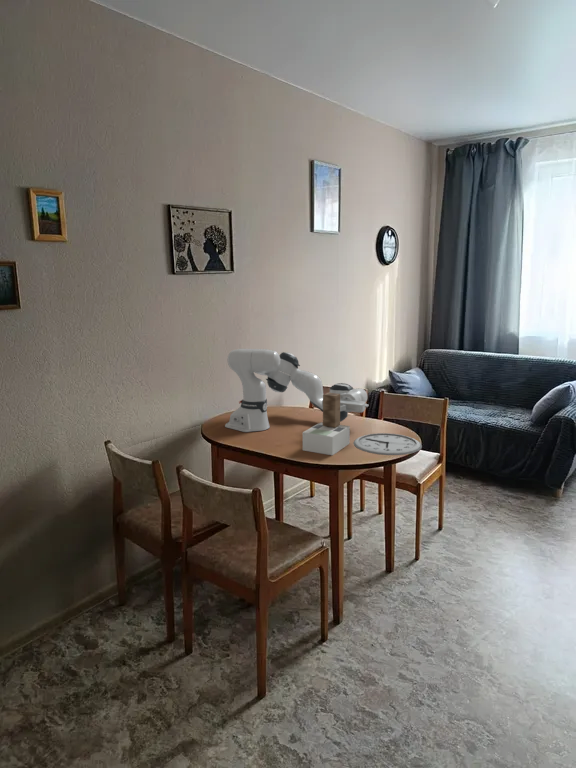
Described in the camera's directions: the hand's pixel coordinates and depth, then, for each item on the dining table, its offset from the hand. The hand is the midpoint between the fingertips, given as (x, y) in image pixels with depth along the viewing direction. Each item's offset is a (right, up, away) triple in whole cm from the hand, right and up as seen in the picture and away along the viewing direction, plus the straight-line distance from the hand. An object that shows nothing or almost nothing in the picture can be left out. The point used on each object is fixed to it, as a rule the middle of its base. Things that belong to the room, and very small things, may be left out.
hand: (336, 408), depth 238 cm
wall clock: (+22, -16, -2) cm, 27 cm away
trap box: (-5, -16, -5) cm, 18 cm away
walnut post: (-3, -7, -3) cm, 8 cm away
